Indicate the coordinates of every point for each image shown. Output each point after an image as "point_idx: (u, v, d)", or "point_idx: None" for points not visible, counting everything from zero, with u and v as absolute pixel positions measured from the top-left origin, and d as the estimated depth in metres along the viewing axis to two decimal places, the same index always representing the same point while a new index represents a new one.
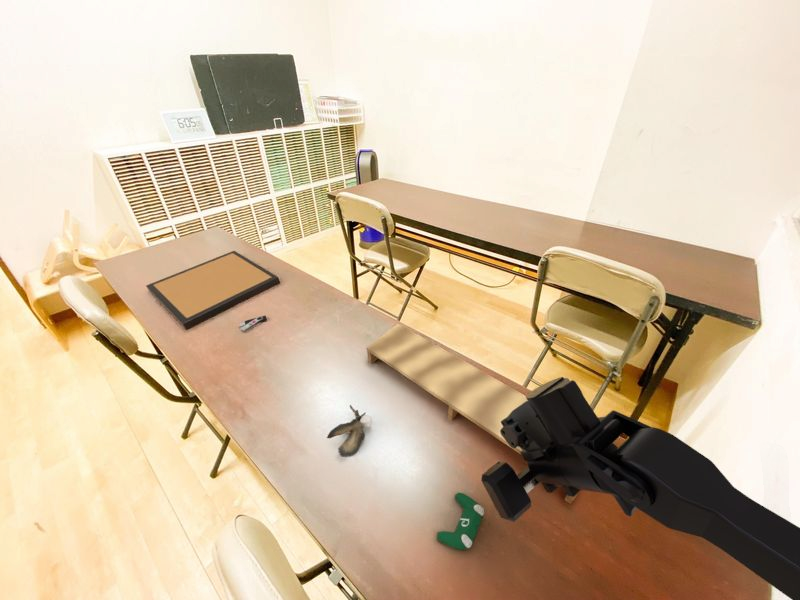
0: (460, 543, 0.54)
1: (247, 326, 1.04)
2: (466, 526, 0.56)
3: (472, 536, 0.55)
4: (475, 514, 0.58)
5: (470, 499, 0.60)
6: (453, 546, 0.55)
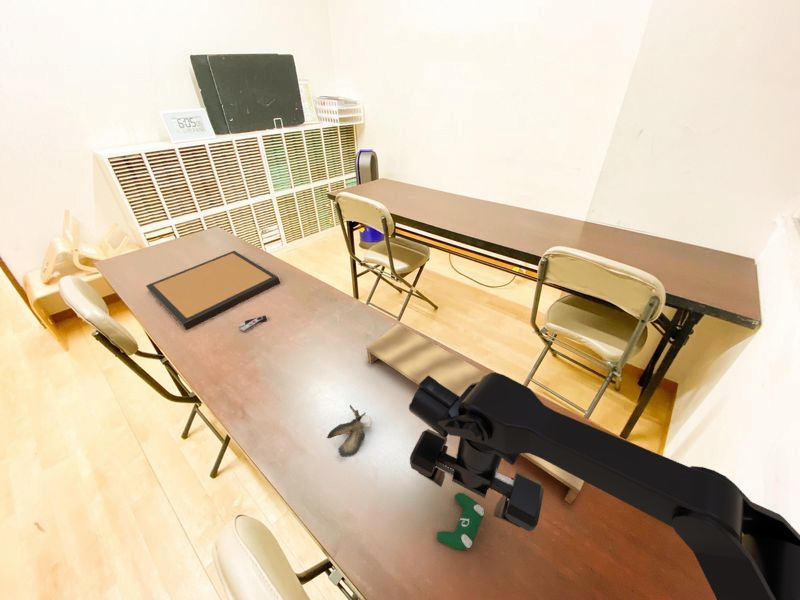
0: (460, 543, 0.54)
1: (247, 326, 1.04)
2: (466, 526, 0.56)
3: (472, 536, 0.55)
4: (475, 514, 0.58)
5: (470, 499, 0.60)
6: (453, 546, 0.55)
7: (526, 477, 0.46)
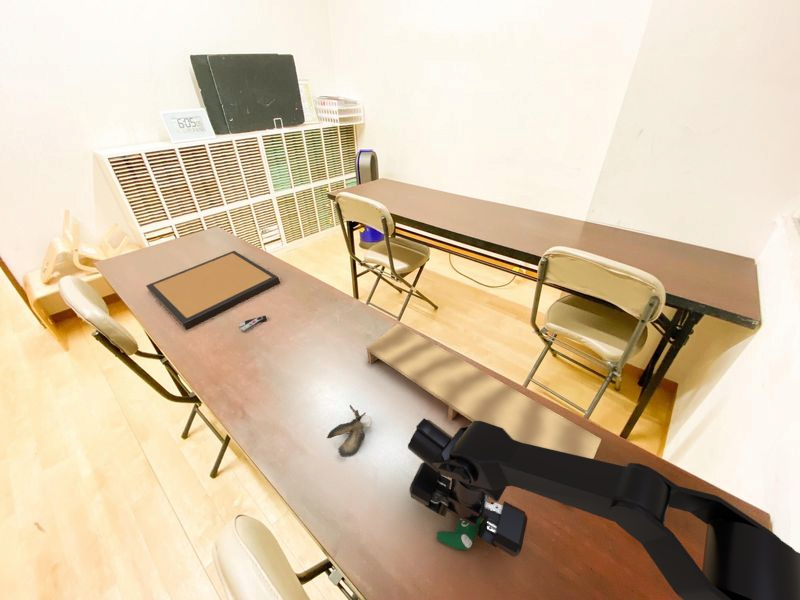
0: (460, 543, 0.54)
1: (247, 326, 1.04)
2: (466, 526, 0.56)
3: (472, 536, 0.55)
4: None
5: None
6: (453, 546, 0.55)
7: (512, 507, 0.52)
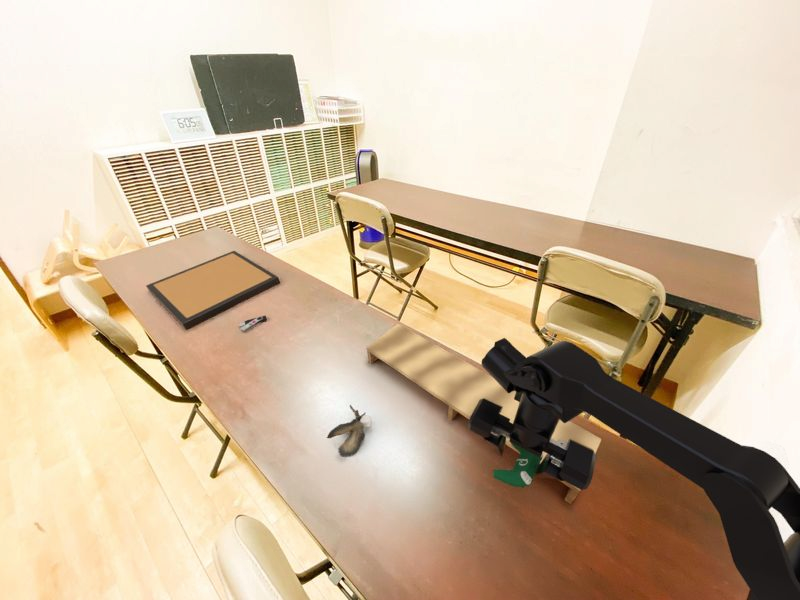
0: (519, 479, 0.53)
1: (247, 326, 1.04)
2: (525, 465, 0.55)
3: (531, 474, 0.54)
4: (534, 455, 0.56)
5: None
6: (511, 482, 0.54)
7: (579, 443, 0.50)
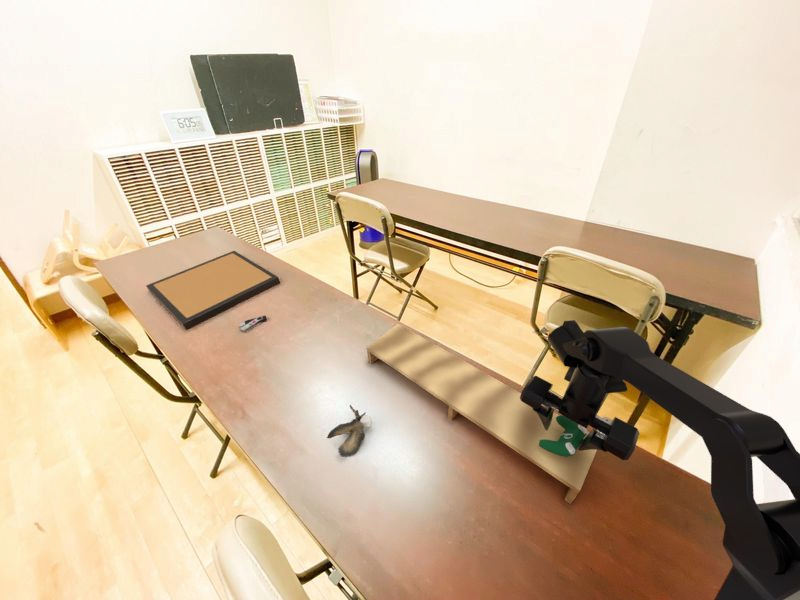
0: (564, 449, 0.60)
1: (247, 326, 1.04)
2: (569, 438, 0.61)
3: (575, 446, 0.60)
4: (579, 431, 0.62)
5: None
6: (556, 451, 0.60)
7: None
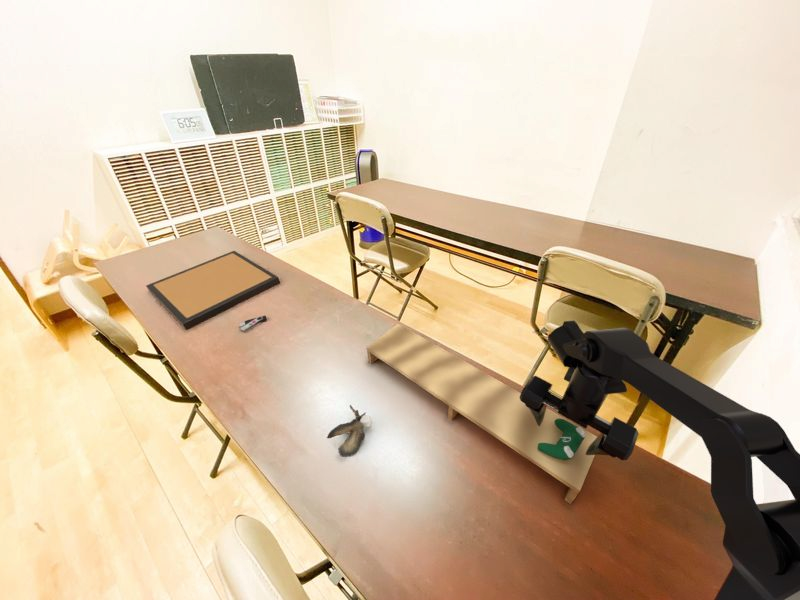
0: (562, 452, 0.60)
1: (247, 326, 1.04)
2: (568, 441, 0.62)
3: (574, 450, 0.61)
4: (577, 434, 0.63)
5: (571, 424, 0.65)
6: (554, 454, 0.61)
7: None
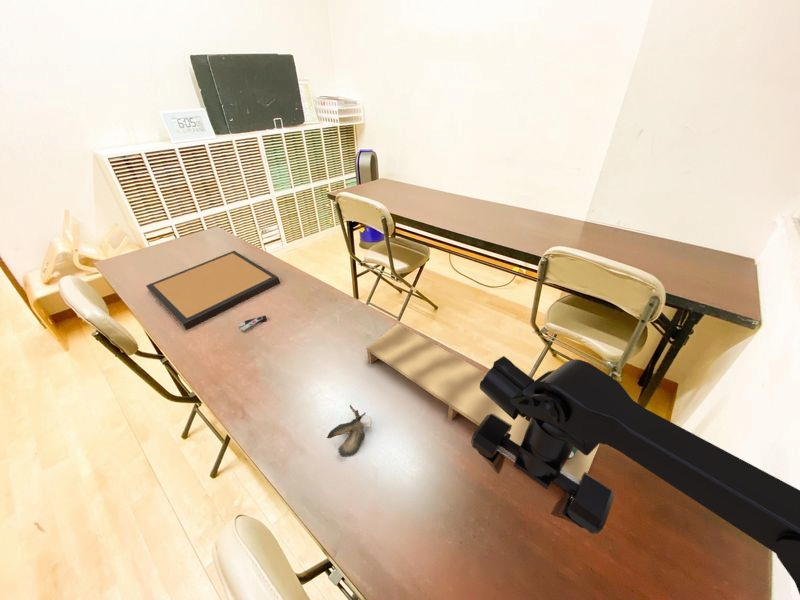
0: None
1: (247, 326, 1.04)
2: None
3: (574, 450, 0.61)
4: None
5: None
6: None
7: (595, 479, 0.44)
